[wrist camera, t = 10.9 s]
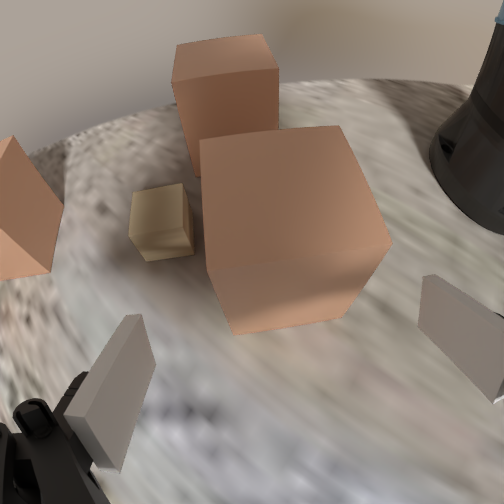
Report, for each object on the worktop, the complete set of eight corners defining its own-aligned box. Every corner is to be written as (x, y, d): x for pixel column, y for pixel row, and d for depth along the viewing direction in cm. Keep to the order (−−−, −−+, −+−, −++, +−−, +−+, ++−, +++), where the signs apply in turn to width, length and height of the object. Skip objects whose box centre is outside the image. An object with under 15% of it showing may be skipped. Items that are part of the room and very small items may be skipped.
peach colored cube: (264, 118, 32) (261, 33, 23) (277, 165, 28) (278, 68, 19) (194, 127, 32) (176, 45, 23) (195, 177, 28) (171, 82, 19)
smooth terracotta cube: (317, 227, 25) (339, 125, 16) (341, 317, 21) (392, 243, 12) (222, 240, 24) (199, 140, 15) (233, 335, 21) (206, 271, 12)
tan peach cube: (64, 206, 27) (13, 135, 18) (50, 272, 24) (-21, 207, 15) (14, 219, 27) (-37, 161, 18) (-1, 280, 24) (-67, 227, 15)
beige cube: (192, 213, 26) (182, 182, 23) (194, 255, 24) (182, 226, 21) (147, 221, 26) (131, 192, 22) (145, 262, 24) (126, 236, 21)
